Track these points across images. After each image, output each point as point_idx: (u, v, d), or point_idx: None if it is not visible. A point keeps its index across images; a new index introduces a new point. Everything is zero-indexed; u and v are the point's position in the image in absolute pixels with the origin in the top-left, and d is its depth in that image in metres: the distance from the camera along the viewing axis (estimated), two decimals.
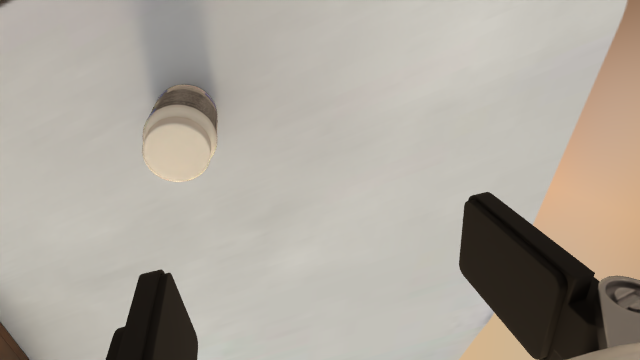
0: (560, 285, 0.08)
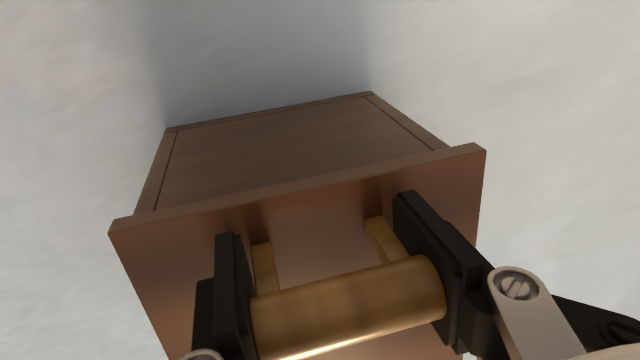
0: (454, 275, 0.09)
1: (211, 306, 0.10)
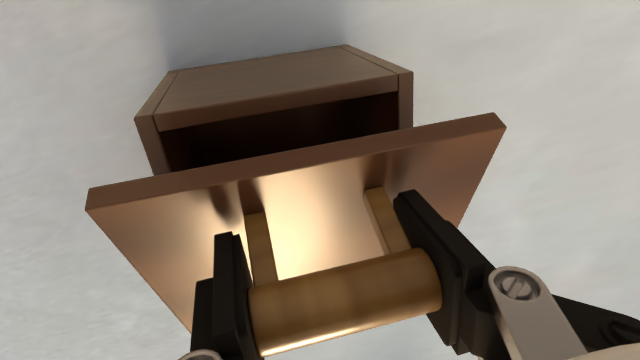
0: (455, 274, 0.09)
1: (210, 306, 0.10)
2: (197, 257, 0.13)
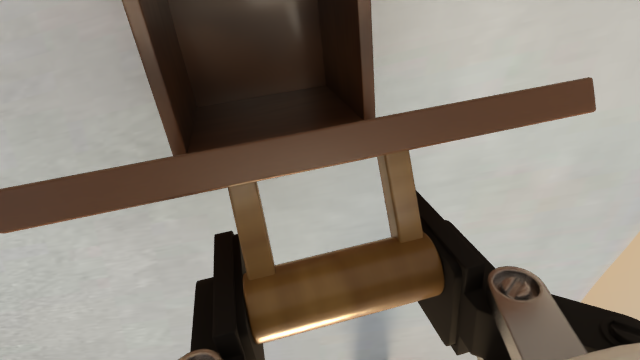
0: (455, 275, 0.09)
1: (211, 306, 0.10)
2: None
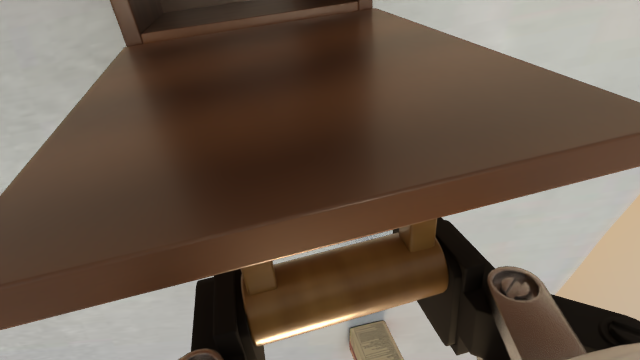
0: (454, 274, 0.09)
1: (211, 306, 0.10)
2: None
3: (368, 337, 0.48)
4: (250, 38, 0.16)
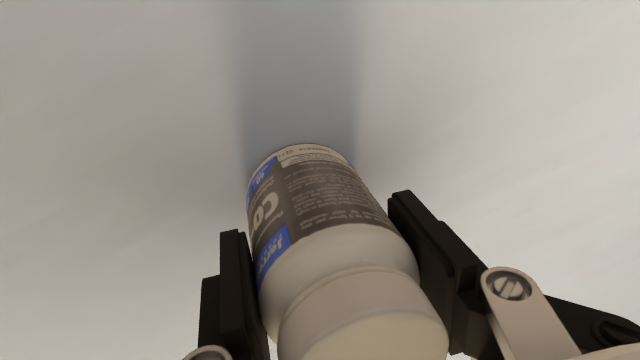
0: (448, 275, 0.09)
1: (217, 303, 0.10)
2: None
3: None
4: None
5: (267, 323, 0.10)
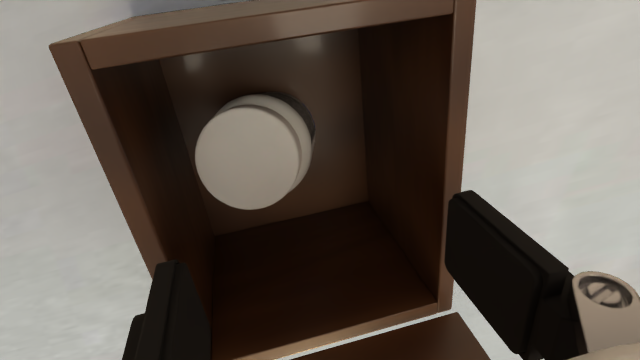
0: (535, 280, 0.09)
1: None
2: None
3: None
4: None
5: None
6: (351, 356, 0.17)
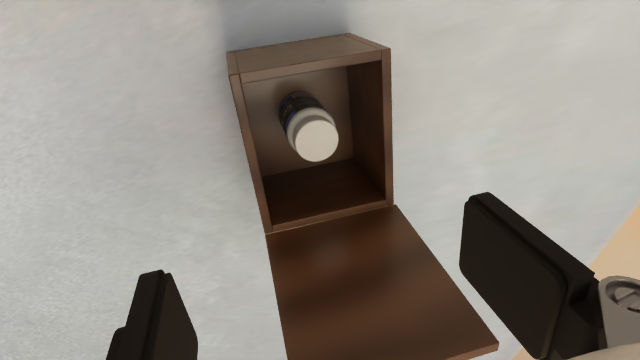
0: (560, 285, 0.08)
1: None
2: None
3: None
4: (333, 237, 0.32)
5: (289, 136, 0.34)
6: (341, 221, 0.34)
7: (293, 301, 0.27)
